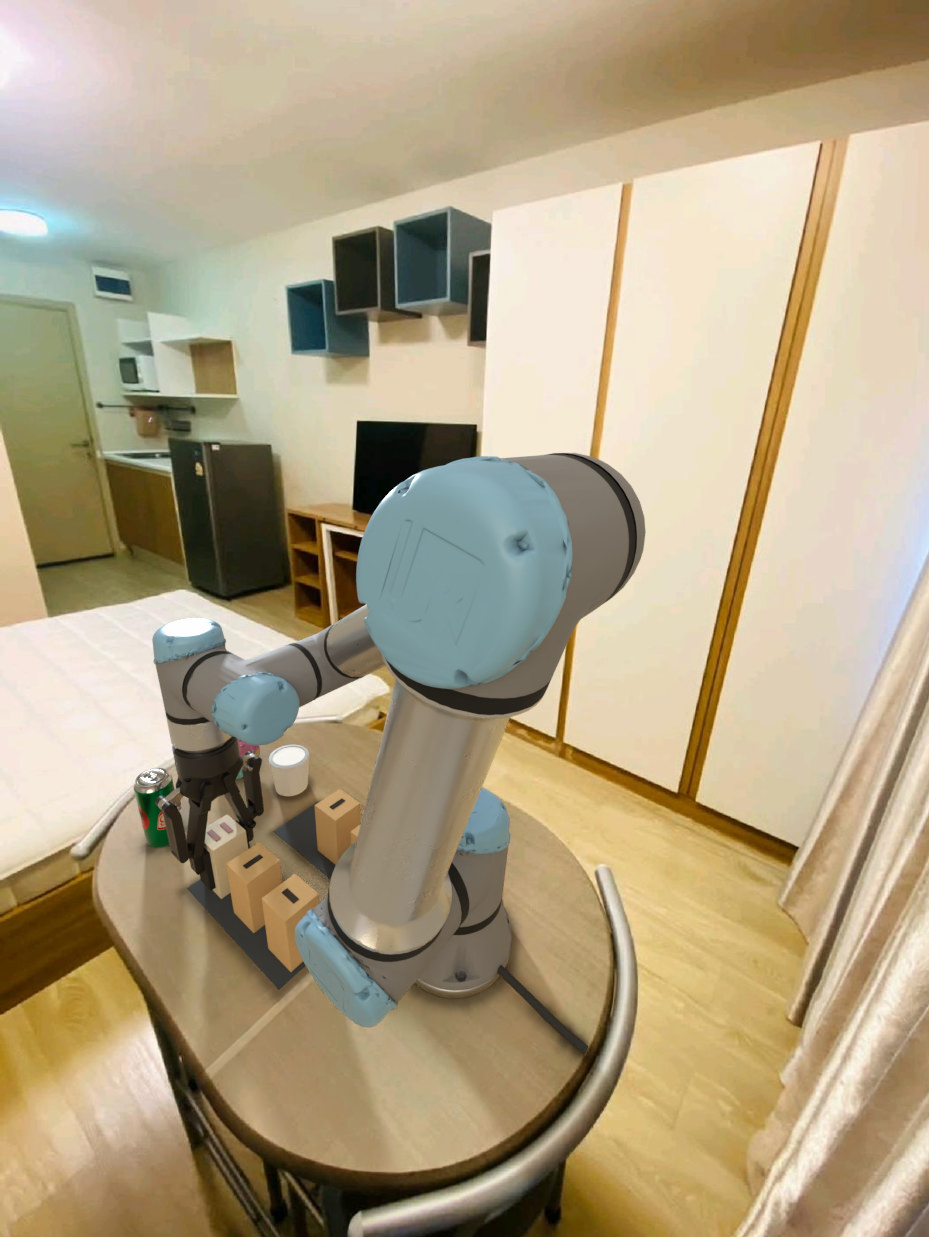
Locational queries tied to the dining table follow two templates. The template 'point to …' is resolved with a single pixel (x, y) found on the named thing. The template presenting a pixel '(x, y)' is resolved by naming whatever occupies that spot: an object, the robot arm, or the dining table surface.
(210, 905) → the left word board
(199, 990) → the dining table surface
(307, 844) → the right word board
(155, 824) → the soda can
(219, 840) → the cream block
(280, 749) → the white cup
